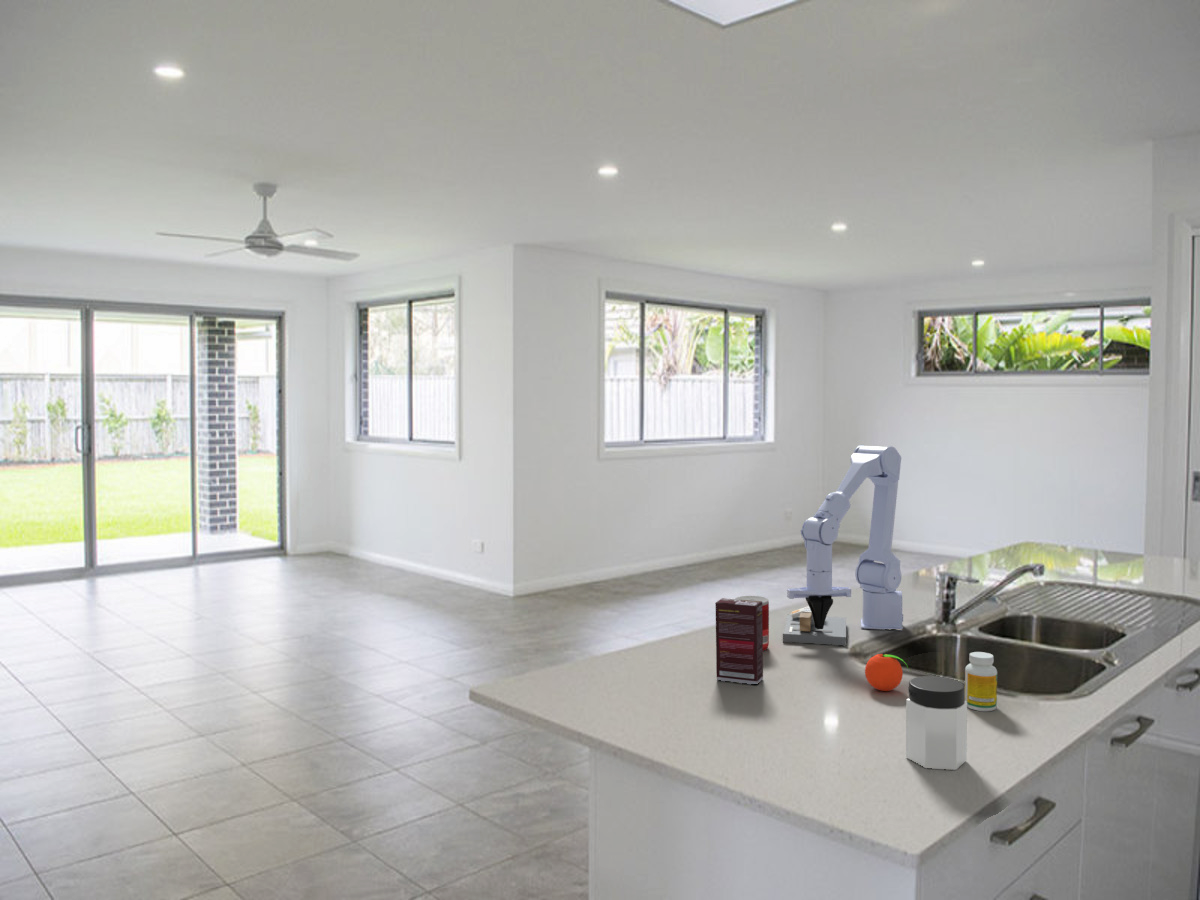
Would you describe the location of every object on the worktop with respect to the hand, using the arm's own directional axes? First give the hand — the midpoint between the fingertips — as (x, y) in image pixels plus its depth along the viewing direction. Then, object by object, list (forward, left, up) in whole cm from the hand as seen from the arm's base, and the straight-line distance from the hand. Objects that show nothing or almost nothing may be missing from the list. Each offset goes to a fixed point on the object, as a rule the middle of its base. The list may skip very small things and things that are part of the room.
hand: (819, 628), depth 211 cm
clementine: (-14, +34, -3) cm, 37 cm away
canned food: (+14, +10, -3) cm, 18 cm away
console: (+1, -6, -3) cm, 6 cm away
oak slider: (+3, 0, 0) cm, 3 cm away
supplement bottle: (-30, +40, -3) cm, 50 cm away
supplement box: (+14, +34, -3) cm, 37 cm away
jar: (-20, +67, -3) cm, 70 cm away
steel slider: (+2, -6, 0) cm, 6 cm away
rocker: (+3, -12, +2) cm, 12 cm away
